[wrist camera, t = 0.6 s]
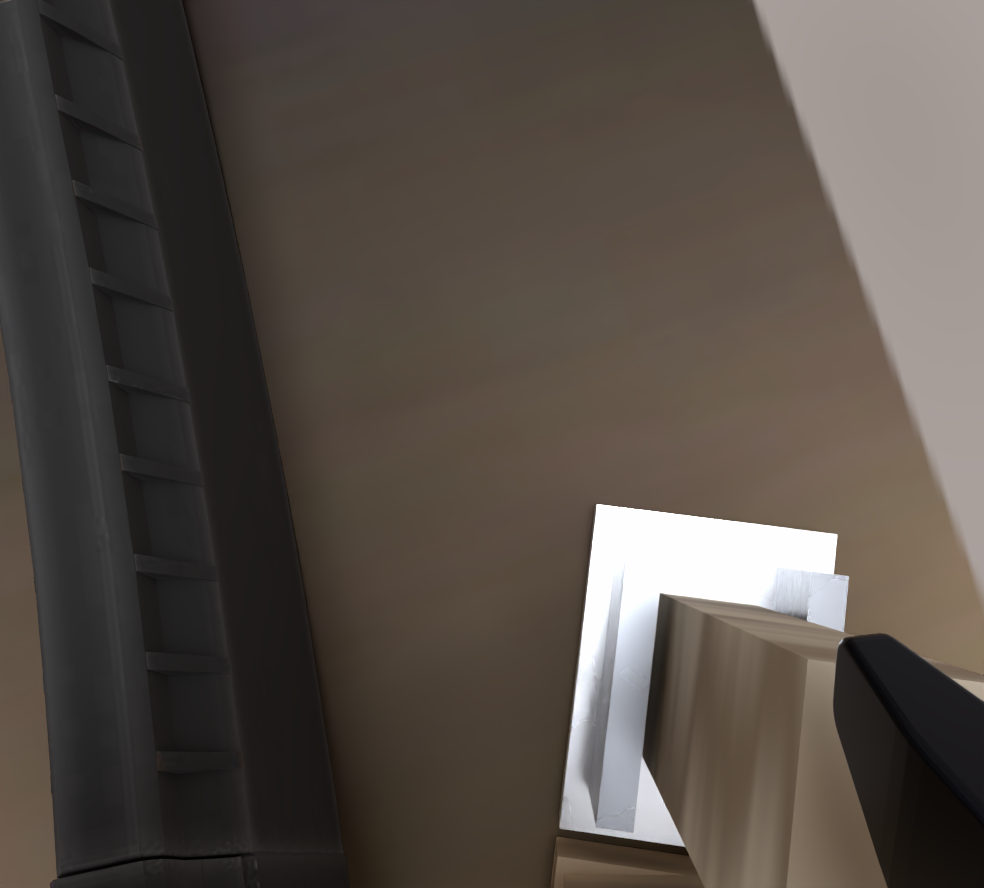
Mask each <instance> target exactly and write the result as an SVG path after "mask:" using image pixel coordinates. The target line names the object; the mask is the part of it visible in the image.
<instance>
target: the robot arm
mask: <svg viewBox="0 0 984 888" xmlns="http://www.w3.org/2000/svg"><path fill="white" fill-rule="evenodd" d="M833 713H834V720H835V725H836V729H837V732H838V735H839V738H840V742H841V745H842V748H843V751H844V754H845V757H846V760H847V764H848V767H849V770H850V773H851V776H852V779H853V782H854V786H855V789H856V792H857V795H858V798H859V801H860V805H861V808H862V811H863V814H864V817H865V820H866V823H867V827H868V830H869V833H870V836H871V839H872V842H873V846H874V849H875V852H876V855H877V858H878V861H879V864H880V867H881V870H882V873H883V876H884V879H885V882H886V885H887V888H984V701H983V700H981V699H980V698H978V697H977V696H975V695H974V694H973V693H971V692H970V691H968V690H967V689H966V688H964V687H963V686H961V685H960V684H959V683H957V682H956V681H954V680H953V679H951V678H950V677H949V676H947V675H946V674H944V673H943V672H942V671H940V670H939V669H937V668H936V667H934V666H933V665H932V664H930V663H929V662H927V661H926V660H925V659H923V658H922V657H920V656H919V655H918V654H916V653H915V652H913V651H912V650H910V649H909V648H908V647H906V646H905V645H903V644H902V643H901V642H899V641H898V640H896V639H895V638H893V637H892V636H889V635H887V634H882V633H878V634H869V635H860V636H850V637H846V638H844V639H842V640H841V641H840V643H839V645H838V648H837V656H836V668H835V681H834V694H833Z"/></svg>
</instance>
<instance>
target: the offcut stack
mask: <svg viewBox="0 0 984 888" xmlns="http://www.w3.org/2000/svg"><path fill="white" fill-rule="evenodd" d="M550 888H705V887H704V885H703V883H702V881H701V879H700V877H699V875H698V872H697V870H696V868H695V866H694V864H693V862H692V860H691V858H690V856H685V855H679V854H672V853H665V852H658V851H651V850H645V849H638V848H631V847H624V846H618V845H611V844H604V843H597V842H590V841H584V840H577V839H570V838H563V837H556V844H555V852H554V861H553V870H552V878H551V887H550Z"/></svg>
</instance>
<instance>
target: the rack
mask: <svg viewBox="0 0 984 888" xmlns="http://www.w3.org/2000/svg"><path fill="white" fill-rule="evenodd" d="M836 544H837V534H830V533H822V532H814V531H806V530H798V529H790V528H782V527H774V526H766V525H758V524H750V523H742V522H734V521H726V520H718V519H710V518H702V517H694V516H686V515H678V514H670V513H662V512H654V511H646V510H638V509H630V508H622V507H614V506H606V505H598V504H597V505H595V509H594V518H593V526H592V535H591V543H590V552H589V560H588V569H587V578H586V586H585V595H584V603H583V612H582V620H581V629H580V638H579V646H578V655H577V663H576V672H575V680H574V689H573V698H572V706H571V715H570V723H569V732H568V740H567V749H566V758H565V766H564V775H563V783H562V792H561V800H560V809H559V828H560V829H566V830H573V831H580V832H587V833H594V834H601V835H607V836H614V837H621V838H628V839H635V840H642V841H648V842H655V843H662V844H669V845H676V846H682V847H685V845H684V843H683V841H682V839H681V837H680V835H679V833H678V830H677V828H676V826H675V824H674V822H673V820H672V818H671V816H670V814H669V812H668V809H667V807H666V805H665V803H664V801H663V799H662V797H661V795H660V793H659V790H658V788H657V786H656V784H655V782H654V780H653V778H652V776H651V774H650V772H649V769H648V767H647V765H646V763H645V761H644V759H643V757H642V751H643V742H644V733H645V724H646V715H647V705H648V696H649V687H650V678H651V669H652V660H653V650H654V641H655V632H656V623H657V614H658V605H659V596H660V593H665V594H673V595H680V596H688V597H696V598H703V599H711V600H719V601H726V602H734V603H742V604H749V605H757V606H760V607H763V608H767V609H770V610H773V611H776V612H780V613H783V614H786V615H789V616H793V617H796V618H799V619H802V620H806V621H809V622H812V623H815V624H819V625H822V626H825V627H828V628H832V629H835V630H838V631H841V632H844V624H845V613H846V602H847V591H848V580H849V576H843V575H835V574H834V566H835V555H836Z"/></svg>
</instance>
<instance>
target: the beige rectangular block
mask: <svg viewBox="0 0 984 888" xmlns="http://www.w3.org/2000/svg"><path fill="white" fill-rule="evenodd" d="M850 636H854V635H851V634H848V633H845V632H841V631H838V630H835V629H832V628H828V627H825V626H822V625H819V624H815V623H812V622H809V621H806V620H802V619H799V618H796V617H793V616H789V615H786V614H783V613H780V612H776V611H773V610H770V609H767V608H763V607H760V606H757V605H749V604H742V603H734V602H726V601H719V600H711V599H703V598H696V597H688V596H680V595H673V594H665V593H660V596H659V605H658V614H657V623H656V632H655V641H654V650H653V660H652V669H651V678H650V687H649V696H648V705H647V715H646V724H645V733H644V742H643V751H642V757H643V759H644V761H645V763H646V765H647V767H648V769H649V772H650V774H651V776H652V778H653V780H654V782H655V784H656V786H657V788H658V790H659V793H660V795H661V797H662V799H663V801H664V803H665V805H666V807H667V809H668V812H669V814H670V816H671V818H672V820H673V822H674V824H675V826H676V828H677V830H678V833H679V835H680V837H681V839H682V841H683V843H684V845H685V847H686V849H687V851H688V854H689V856H690V858H691V860H692V862H693V864H694V866H695V868H696V870H697V872H698V875H699V877H700V879H701V881H702V883H703V885H704V887H705V888H887V885H886V882H885V879H884V876H883V873H882V870H881V867H880V864H879V861H878V858H877V855H876V852H875V849H874V846H873V842H872V839H871V836H870V833H869V830H868V827H867V823H866V820H865V817H864V814H863V811H862V808H861V805H860V801H859V798H858V795H857V792H856V789H855V786H854V782H853V779H852V776H851V773H850V770H849V767H848V764H847V760H846V757H845V754H844V751H843V748H842V745H841V742H840V738H839V735H838V732H837V729H836V725H835V720H834V713H833V694H834V681H835V668H836V656H837V648H838V645H839V643H840V641H841V640H842V639H844V638H846V637H850ZM919 656H920V655H919ZM920 657H922V658H923V659H925V660H926V661H927V662H929V663H930V664H932V665H933V666H934V667H936V668H937V669H939V670H940V671H942V672H943V673H944V674H946V675H947V676H949V677H950V678H951V679H953V680H954V681H956V682H957V683H959V684H960V685H961V686H963V687H964V688H966V689H967V690H968V691H970V692H971V693H973V694H974V695H975V696H977V697H978V698H980V699H981V700H983V701H984V675H982V674H978V673H975V672H972V671H968V670H965V669H962V668H959V667H955V666H952V665H949V664H946V663H942V662H939V661H936V660H933V659H929V658H926V657H923V656H920Z"/></svg>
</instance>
